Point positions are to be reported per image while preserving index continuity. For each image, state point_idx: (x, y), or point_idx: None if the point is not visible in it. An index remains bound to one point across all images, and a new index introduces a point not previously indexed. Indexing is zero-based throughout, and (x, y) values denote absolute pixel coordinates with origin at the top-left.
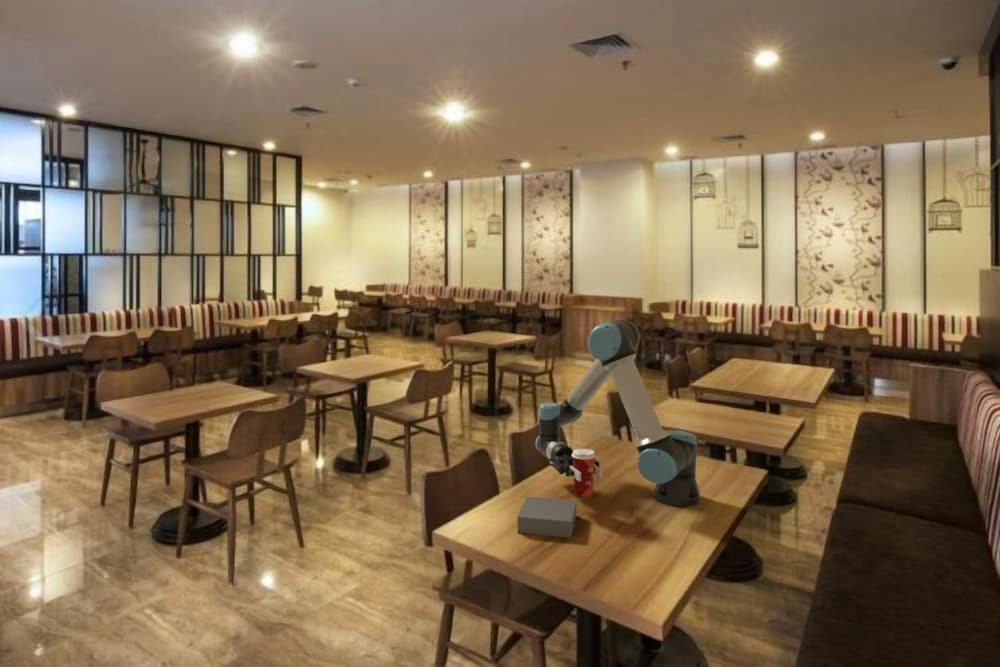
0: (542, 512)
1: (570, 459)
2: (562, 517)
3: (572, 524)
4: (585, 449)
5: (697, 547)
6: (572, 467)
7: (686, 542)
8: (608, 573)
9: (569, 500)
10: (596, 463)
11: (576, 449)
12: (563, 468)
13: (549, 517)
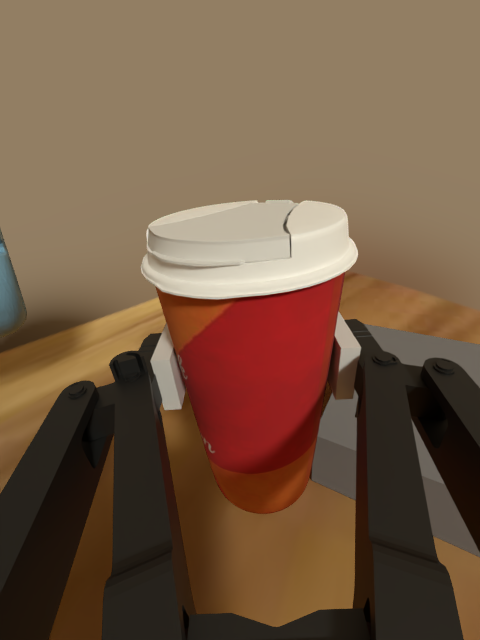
0: (472, 372)
1: (303, 622)
2: (389, 340)
3: None
4: (193, 231)
5: (133, 314)
6: (342, 332)
7: (133, 324)
8: None
9: (349, 444)
10: (98, 391)
11: (288, 236)
12: (419, 367)
13: (435, 345)
